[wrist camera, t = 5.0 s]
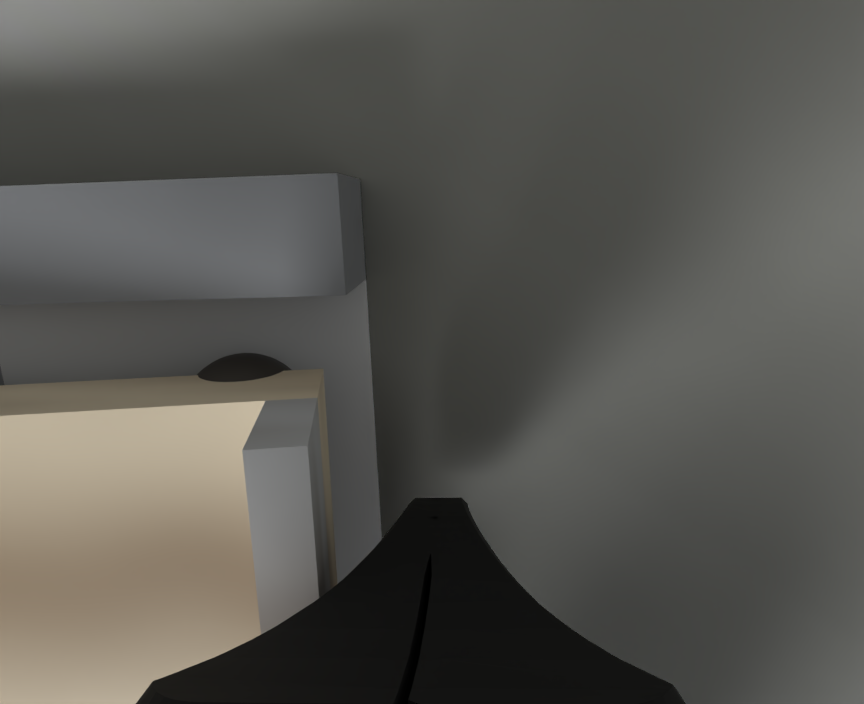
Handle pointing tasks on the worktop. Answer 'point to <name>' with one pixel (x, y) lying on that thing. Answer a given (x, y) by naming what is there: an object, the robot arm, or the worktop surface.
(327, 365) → the loading dock
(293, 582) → the footed beige box
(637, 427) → the worktop surface
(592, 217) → the worktop surface
